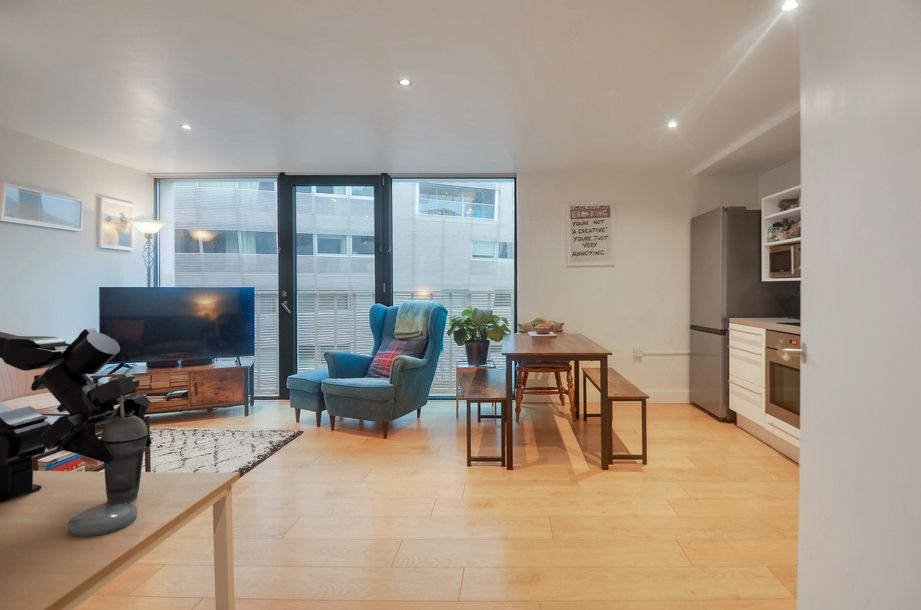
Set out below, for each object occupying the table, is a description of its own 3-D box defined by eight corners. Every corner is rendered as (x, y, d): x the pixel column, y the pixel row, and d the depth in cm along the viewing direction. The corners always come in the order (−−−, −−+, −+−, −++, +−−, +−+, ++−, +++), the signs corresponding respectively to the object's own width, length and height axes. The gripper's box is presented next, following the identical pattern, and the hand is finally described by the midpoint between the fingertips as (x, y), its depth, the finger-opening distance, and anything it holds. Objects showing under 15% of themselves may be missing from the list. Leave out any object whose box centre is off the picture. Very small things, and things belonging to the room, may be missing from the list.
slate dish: (53, 531, 72) (53, 523, 72) (110, 506, 80) (110, 499, 80) (95, 540, 69) (96, 532, 69) (149, 514, 78) (150, 507, 78)
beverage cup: (120, 510, 79) (124, 397, 79) (86, 505, 81) (90, 394, 81) (156, 493, 86) (159, 389, 86) (124, 489, 88) (128, 386, 88)
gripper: (59, 369, 74) (122, 438, 74) (143, 355, 93) (193, 411, 92) (12, 414, 74) (74, 484, 74) (105, 392, 93) (155, 448, 93)
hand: (131, 452), depth 83 cm, fingers open, 9 cm apart
